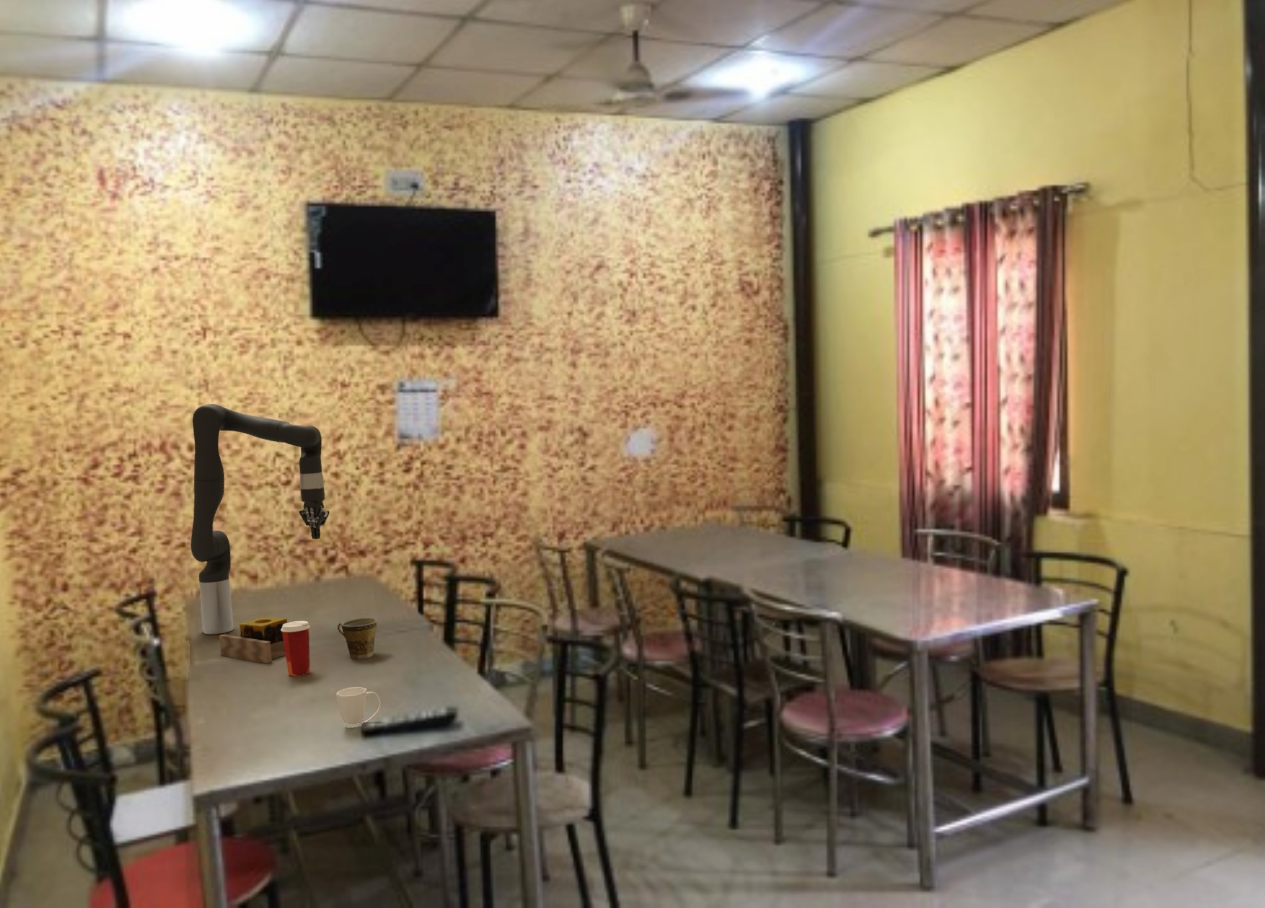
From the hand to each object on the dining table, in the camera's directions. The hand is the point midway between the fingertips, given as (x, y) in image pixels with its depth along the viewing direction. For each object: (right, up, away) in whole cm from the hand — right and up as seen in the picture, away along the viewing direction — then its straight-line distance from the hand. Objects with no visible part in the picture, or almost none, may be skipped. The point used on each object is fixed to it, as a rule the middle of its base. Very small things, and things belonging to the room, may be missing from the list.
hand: (316, 538), depth 342 cm
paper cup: (+12, -33, -55) cm, 66 cm away
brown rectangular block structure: (-7, -32, -33) cm, 46 cm away
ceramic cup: (+24, -31, -39) cm, 56 cm away
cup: (+41, -35, -102) cm, 115 cm away
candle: (-6, -32, -31) cm, 45 cm away
